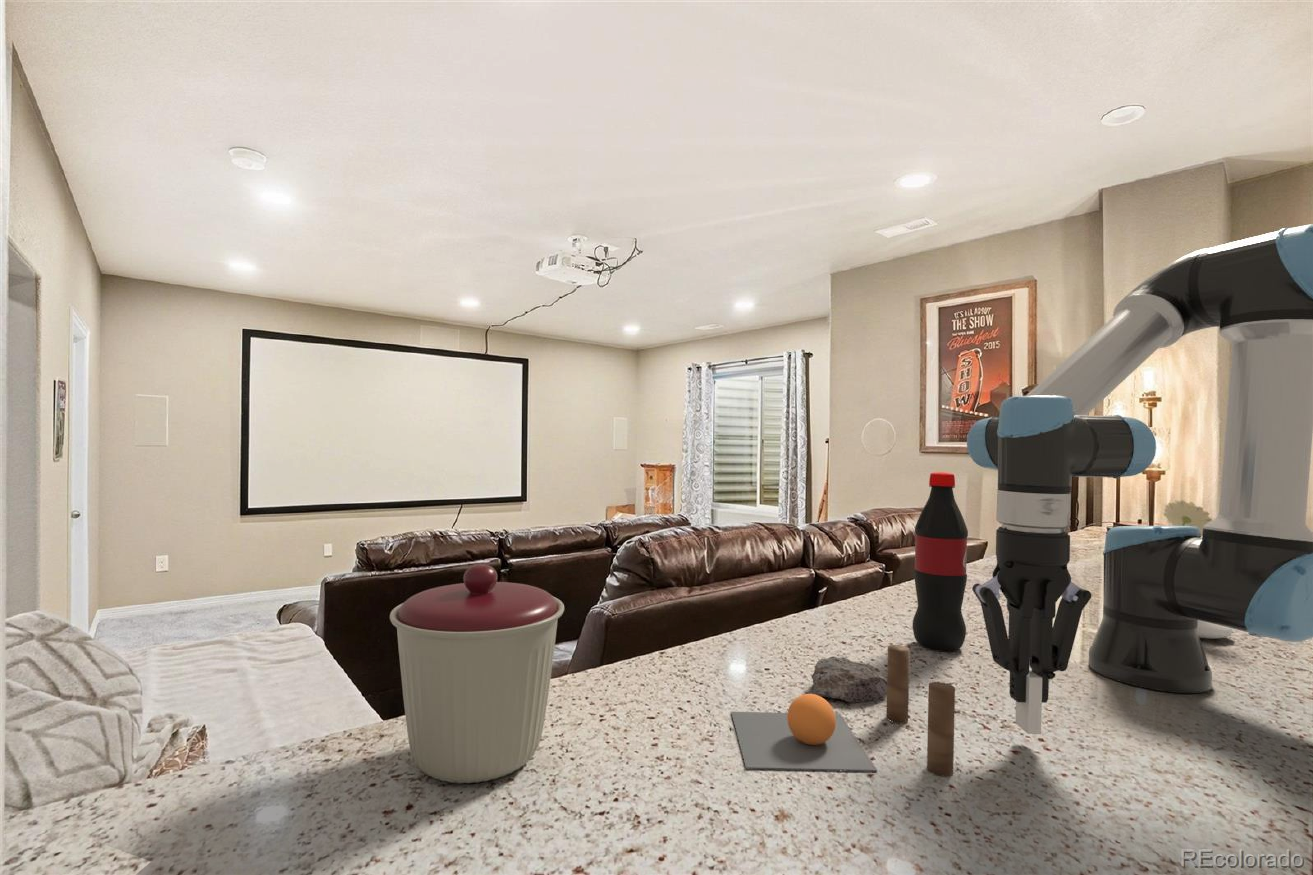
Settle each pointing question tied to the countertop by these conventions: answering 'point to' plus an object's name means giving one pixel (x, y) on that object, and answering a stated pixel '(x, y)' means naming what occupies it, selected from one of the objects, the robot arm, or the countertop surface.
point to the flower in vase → (1195, 516)
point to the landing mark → (796, 745)
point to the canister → (476, 674)
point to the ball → (811, 719)
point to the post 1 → (898, 683)
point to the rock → (848, 680)
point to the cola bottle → (940, 568)
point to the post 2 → (940, 728)
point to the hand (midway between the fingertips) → (1028, 728)
